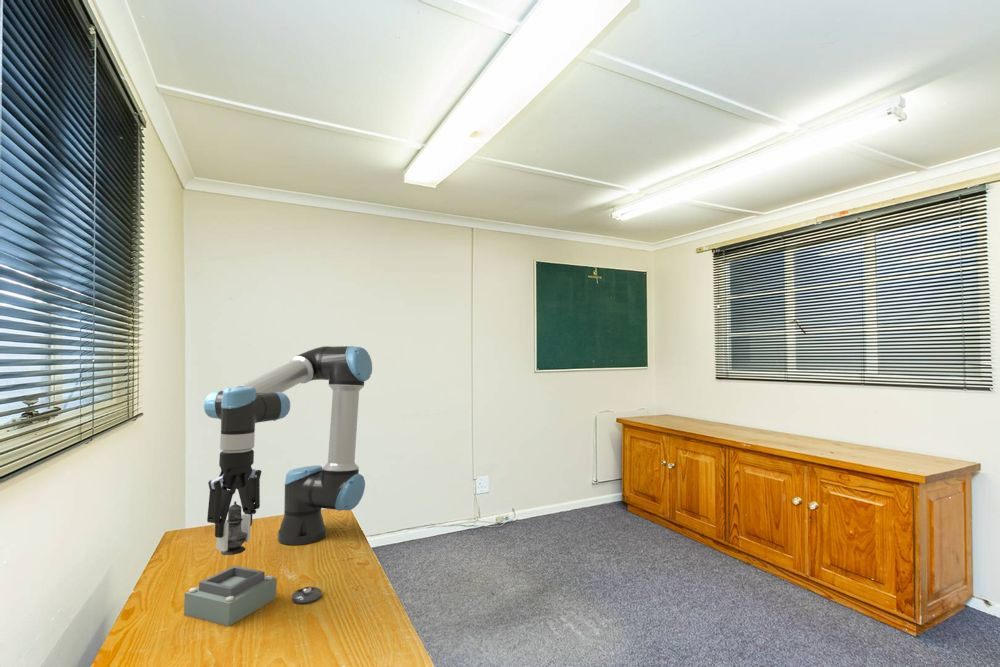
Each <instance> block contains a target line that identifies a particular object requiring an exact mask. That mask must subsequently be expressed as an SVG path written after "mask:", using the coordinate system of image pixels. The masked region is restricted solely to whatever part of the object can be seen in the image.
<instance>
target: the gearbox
mask: <svg viewBox="0 0 1000 667" xmlns="http://www.w3.org/2000/svg"><path fill="white" fill-rule="evenodd" d="M265 574H266V572H265V571H263V570H258V569H252V568H248V567H245V566H244V567H243V566H239V565H233V566H231V567H229V568H226V569H224V570H222V571H220V572H218V573H216V574H214V575H211V576H209V577H207V578H205V579H203V580H201V581H199V582H198V586H196V587H192V588H189V590H188V591H186V592H184V601H183V602H184V603H183V605H184V606H183V615H184V616H187V617H191V618H195V619H197V620H198V619H200V620H202V621H206V622H211V623H214V624H218V625H220V626H221V625H222V626H225V627H230V626H231V625H233V624H235V623H236V622H239V621H240V620H242V619H243V618H245V617H247V616H248V615H250V614H252V613H253V612H256V611H257V610H259V609H261V608H262V607H264V606H265V605H267V604H269V603H271V602H272V601H274V600H275V599H277V582H278V578H277V577H275V576H274V575H271V574H270V575H269V574H268V575H265Z"/></svg>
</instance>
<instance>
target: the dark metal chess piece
mask: <svg viewBox="0 0 1000 667" xmlns="http://www.w3.org/2000/svg"><path fill="white" fill-rule="evenodd" d="M241 514H242V505H239V504H237V501H233V504H232V505H230V507H229V511H228V514H227V519H226V522H228V523H229V525H228V549H227V551H221V552H220V554H221V555H223V556H233V555H238V554H241V553H243V552H244V551H246V547H244V546H243V544H244V543H246V542H245V539H246V536H247V533H245V532H242V530H241V521H242V520H243V519H242V518H241Z"/></svg>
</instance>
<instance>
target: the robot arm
mask: <svg viewBox="0 0 1000 667" xmlns="http://www.w3.org/2000/svg"><path fill="white" fill-rule="evenodd" d="M372 374H373V362H372V358H371V356H370V354H369V352H368V350H366V349H365V348H363V347H361V346H354V345H349V346H346V345H345V346H341V345H340V346H339V345H338V346H328V345H327V346H320V347H316V348H313V349H310V350H308V351H305V352H302V353H301V354H300V353H299V354H297V355H295V356H293V357H292V358H291V359H289V361H288V363H285V364H283V365H281V366H279V367H277V368H275V369H272V370H270V371H269V372H266V373H264V374H261V375H260V376H257V377H255V378H253V379H251V380H248V381H247V382H244V383H242V384H240V385H237V386H235V387H233V386H231V387H227V388H225V389H224V390H219V391H211V392H210V393H208V395H207V396H206V397H205V399H204V402H203V409H204V413H205V414H206V416H208V417H209V418H212V419H216V420H217V419H218V420H220V439H219V440H220V441H219V442H220V443H219V444H220V445H219V449H220V450H221V452H220V453H219V464H218V466H219V467H220V473H219V476H218V477H217V478H215V479H210V480H208V483H207V485H208V487H209V488H208V489H209V497H208V508H207V518H206V521H207V523H210V524H214V537H215V538H216V545H215V546H216V548H215V550H216V551H227V549H228V525H229V523H228V522H226V521H227V519H228V511H229V507H230V506H231V503H232V499H233V496H234V495H235V493H236V491H237V492H238V495H239V499H240V504H241V505H240V506H241V510H242V512H243V513H242V512H241V518H242V519H243V520H242V521H241V530H242V532H245V533H247V536H246V539H245V542H244V543H249V542H250V540H251V527H252V525H253V515H255V514H256V513H257V510H259V509H260V507H261V506H260V505H261V504H260V503H261V501H260V498H261V496H260V495H261V494H260V493H261V492H260V490H261V489H260V483H261V481H260V480H261V476H262V470H261V469H256V468H255V469H253V468H252V466H253V465H254V461H255V458H254V456H255V451H254V450H253V449H254V447H255V436H256V435H255V431H256V424H257V423H264V422H265V423H266V422H271V421H273V422H275V421H277V420H280V419H283V418H285V417H287V415H288V414H290V413H289V412H290V411H291V401H290V398H289V396H287V394H286V393H284V392H286V391H287V390H289V389H292V388H294V387H295V386H297V385H299V384H307V383H309V382H311V381H317V380H318V381H319V380H321V381H322V380H325V381H326V380H327V381H328V386H329V387H330V389H331V390H332V398H331V413H330V425H329V426H330V428H329V441H328V455H327V456H328V457H327V462H326V464H325V465H324V466H322V465H307V466H303V467H298V468H294V469H291V470H289V471H287V473H286V475H285V480H284V509H283V510H284V511H283V512H284V513H283V515H284V516H283V519H282V521H281V523H280V527H279V530H278V533H277V541H278V543H280V544H283V545H287V546H299V545H308V544H311V543H316V542H319V541H320V540H322V539H324V538H325V537H326V536H327V527H326V525H325V521H324V518H323V515H322V509H324V510H325V509H327V510H335V511H338V512H339V511H351V510H353V509H355V508H356V507H357V506H358V505H359V504H360V501H361V500H362V498H363V496H364V493H365V487H366V479H365V477H364V476H363V475H362V474H360V473H359V471H360V466H359V465H357V464H356V462H355V459H356V444H357V430H358V429H357V428H358V417H359V416H358V413H359V400H360V391H361V390H362V389H363V388H364V387H365V382H366V381H369V379H370V378H371V375H372Z"/></svg>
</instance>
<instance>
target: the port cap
mask: <svg viewBox="0 0 1000 667" xmlns="http://www.w3.org/2000/svg"><path fill="white" fill-rule="evenodd" d="M322 591H323V590H322V589H321V588H319V587H314V586H306V587H303V588H300V589H297V590H296V591H294V592H293V593H292V594H291V602H292V603H294V604H296V605H308V604H309V605H310V604H313V603H315V602H317V601H319V600H320V599H321V598H322V595H323V594H322V593H323V592H322Z"/></svg>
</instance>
